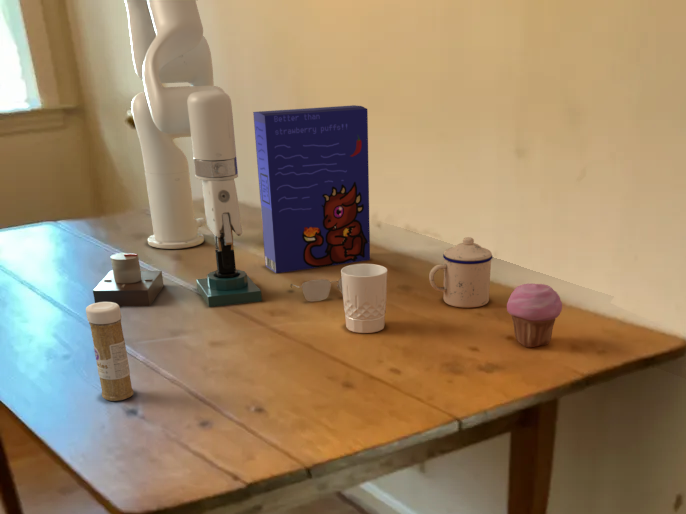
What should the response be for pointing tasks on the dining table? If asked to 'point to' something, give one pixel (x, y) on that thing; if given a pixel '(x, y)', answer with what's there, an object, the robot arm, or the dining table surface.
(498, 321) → the dining table surface
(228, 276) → the black button
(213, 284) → the button housing
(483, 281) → the teacup with lid
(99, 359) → the sprinkles bottle
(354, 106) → the cereal box
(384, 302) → the white cup
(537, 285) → the cupcake
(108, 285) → the dial panel
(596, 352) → the dining table surface
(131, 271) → the dial
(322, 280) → the eyeglasses
